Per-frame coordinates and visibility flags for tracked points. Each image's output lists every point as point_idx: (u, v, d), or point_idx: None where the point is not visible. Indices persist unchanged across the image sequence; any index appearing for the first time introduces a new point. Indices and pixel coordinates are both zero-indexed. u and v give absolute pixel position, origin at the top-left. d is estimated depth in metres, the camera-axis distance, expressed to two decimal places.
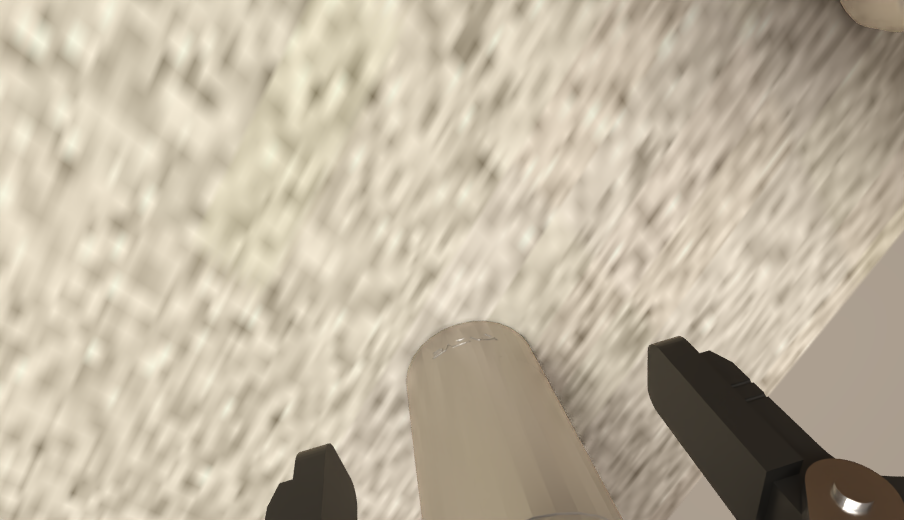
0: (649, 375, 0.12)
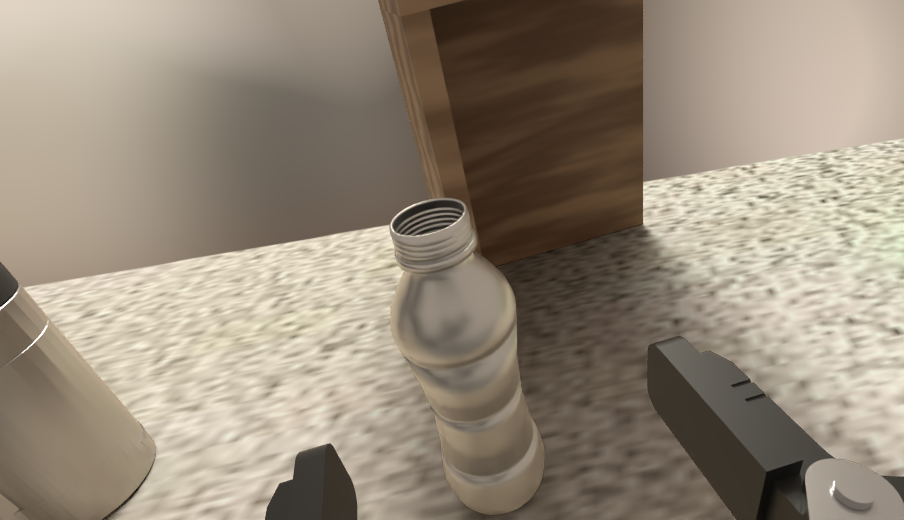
0: (649, 375, 0.12)
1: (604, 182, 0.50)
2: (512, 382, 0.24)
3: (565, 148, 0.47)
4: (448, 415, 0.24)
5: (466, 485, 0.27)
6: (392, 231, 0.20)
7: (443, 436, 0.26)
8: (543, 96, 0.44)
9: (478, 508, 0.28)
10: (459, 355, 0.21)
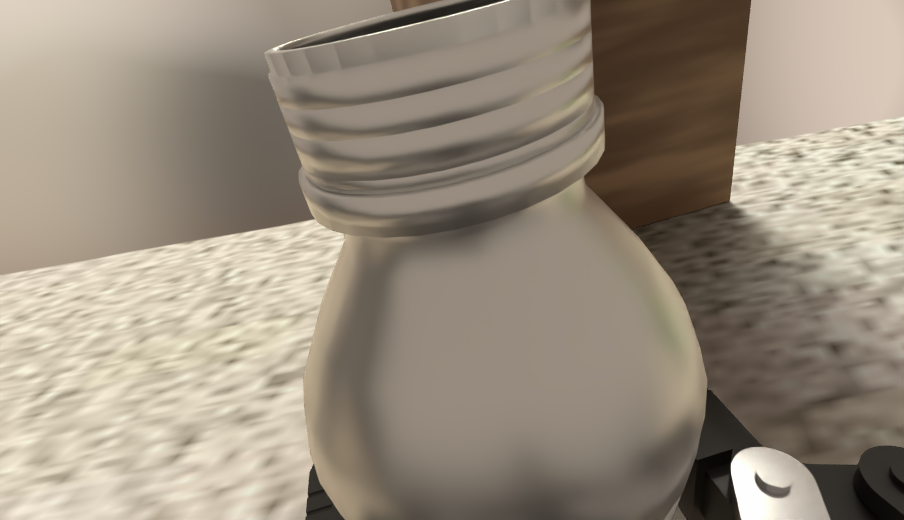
0: None
1: (683, 138, 0.35)
2: None
3: (632, 83, 0.32)
4: None
5: None
6: (269, 53, 0.05)
7: None
8: None
9: None
10: None
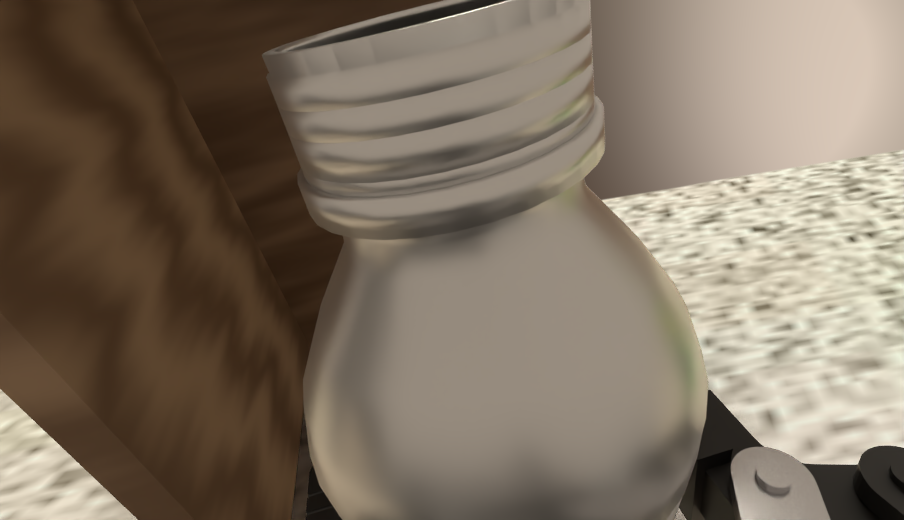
0: None
1: None
2: None
3: None
4: None
5: None
6: (267, 55, 0.05)
7: None
8: None
9: None
10: None
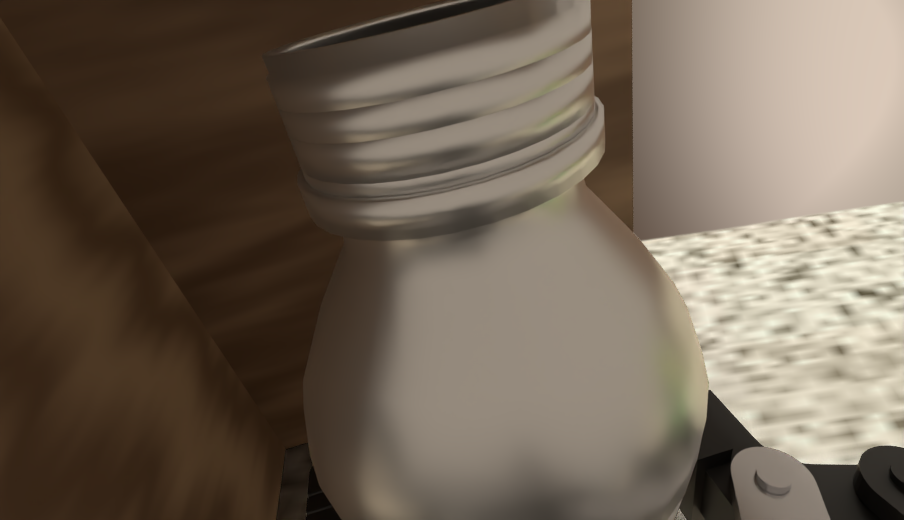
0: None
1: None
2: None
3: None
4: None
5: None
6: (267, 56, 0.05)
7: None
8: None
9: None
10: None
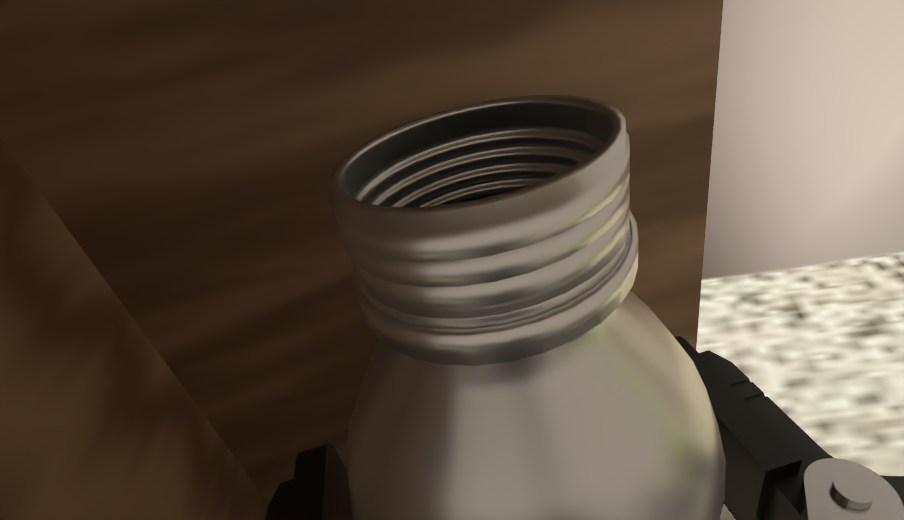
0: None
1: None
2: None
3: None
4: None
5: None
6: (335, 193, 0.05)
7: None
8: None
9: None
10: None
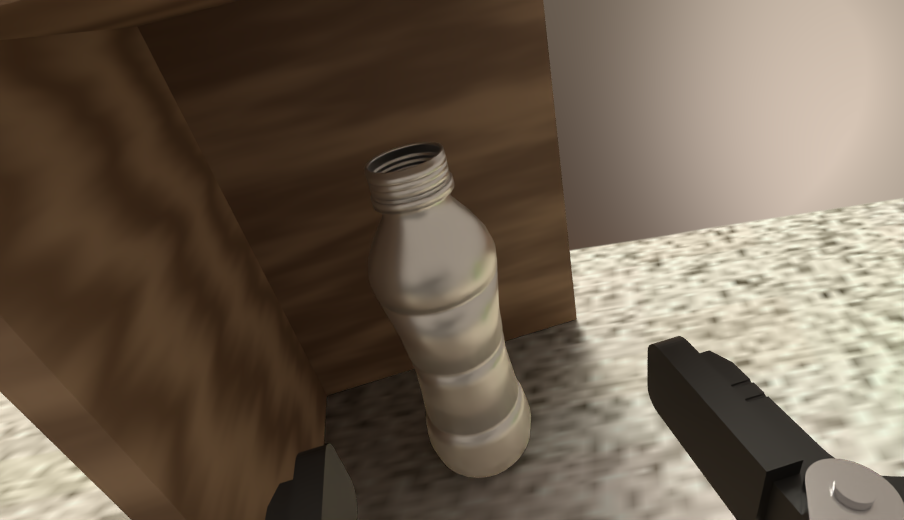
0: (649, 375, 0.12)
1: (515, 270, 0.35)
2: (494, 335, 0.24)
3: None
4: (429, 369, 0.24)
5: (450, 446, 0.26)
6: (366, 171, 0.20)
7: (425, 394, 0.26)
8: None
9: (462, 470, 0.27)
10: (436, 299, 0.20)
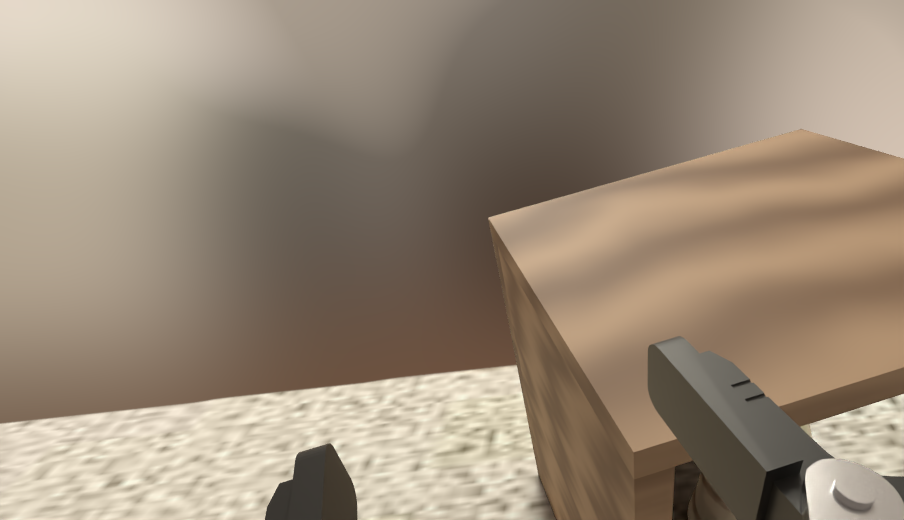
0: (649, 375, 0.12)
1: None
2: None
3: None
4: None
5: None
6: None
7: (719, 515, 0.33)
8: None
9: None
10: None
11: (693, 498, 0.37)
